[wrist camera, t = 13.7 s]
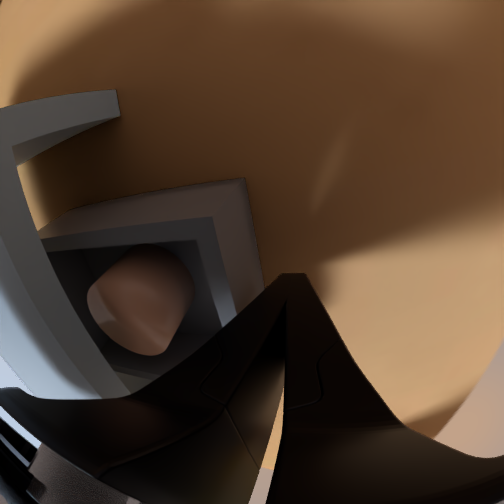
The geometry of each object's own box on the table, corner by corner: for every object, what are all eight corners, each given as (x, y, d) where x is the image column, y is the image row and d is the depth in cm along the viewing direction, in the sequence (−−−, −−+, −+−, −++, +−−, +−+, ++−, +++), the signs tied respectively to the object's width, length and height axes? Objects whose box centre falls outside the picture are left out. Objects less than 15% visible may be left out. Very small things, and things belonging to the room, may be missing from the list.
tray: (70, 209, 10) (22, 242, 8) (244, 177, 8) (212, 216, 6) (121, 324, 13) (92, 364, 11) (272, 334, 11) (259, 395, 9)
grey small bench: (-3, 160, 10) (-76, 201, 5) (115, 89, 7) (-29, 117, 3) (83, 350, 16) (44, 405, 12) (206, 376, 14) (172, 464, 9)
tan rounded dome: (111, 245, 10) (73, 280, 8) (180, 240, 9) (145, 282, 7) (139, 310, 11) (112, 348, 9) (204, 314, 11) (182, 360, 9)
